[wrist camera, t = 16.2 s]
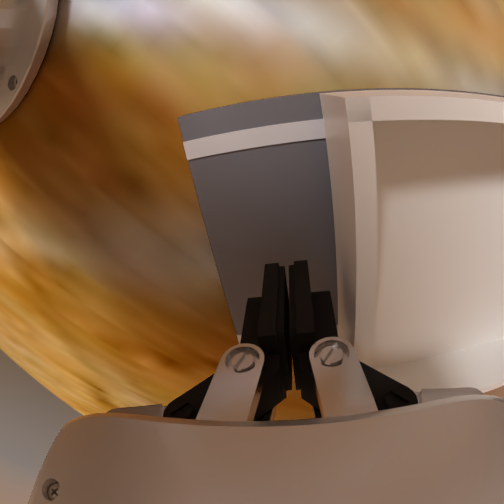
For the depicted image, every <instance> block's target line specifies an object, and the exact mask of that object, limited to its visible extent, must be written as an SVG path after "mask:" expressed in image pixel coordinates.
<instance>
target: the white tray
mask: <svg viewBox="0 0 504 504" xmlns="http://www.w3.org/2000/svg"><path fill="white" fill-rule="evenodd" d="M319 95H320V101H321V107H322V114H323V121H324V129H325V136H326V144H327V152H328V161H329V170H330V180H331V191H332V202H333V214H334V228H335V244H336V263H337V290H338V337H340V338H343V339H345V340H347V341H348V342H350V343H351V345H352V346H353V348H354V350H355V352H356V355H357V357H358V360H359V361H361V362H362V363H364V364H366V365H368V366H370V367H372V368H373V369H375V370H377V371H379V372H381V373H383V374H385V375H386V376H388V377H390V378H392V379H394V380H396V381H398V382H399V383H401V384H403V385H405V386H407V387H409V388H410V389H411V390H413V392H420V391H421V389H439V388H465V387H471V388H476V389H478V390H480V391H481V392H482V393H485V392H487V391H490V390H493V389H495V388H498V387H501V386H503V385H504V97H498V96H490V95H482V94H473V93H463V92H450V91H433V90H363V91H344V92H331V93H319Z"/></svg>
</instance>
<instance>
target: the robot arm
mask: <svg viewBox="0 0 504 504" xmlns="http://www.w3.org/2000/svg"><path fill="white" fill-rule="evenodd" d="M57 7H58V0H0V123H1V122H2V121H3V120H5V119H6V118H7V117H8V116H9V115H10V114H11V113H12V112H13V111H14V110H15V109H16V108H17V106H18V105H19V103H20V102H21V100H22V99H23V98H24V96H25V95H26V93H27V92H28V90H29V88H30V86H31V84H32V82H33V80H34V79H35V77H36V75H37V73H38V70H39V68H40V65H41V63H42V61H43V59H44V56H45V54H46V50H47V47H48V44H49V41H50V38H51V36H52V32H53V27H54V23H55V19H56V15H57ZM292 359H293V367H294V375H295V383H296V390H299V389H301V395H302V399H304V400H305V401H307V402H308V403H309V404H311V405H312V411H313V416H314V419H301V420H281V421H274V417H275V412H276V405H277V404H278V403H280V402H281V401H282V400H283V399H285V398H286V390H292ZM28 504H504V398H502V397H497V396H491V395H484V394H483V393H482V392H481V391H480V390H478V389H476V388H471V387H465V388H439V389H421V391H420V392H413V390H411V389H410V388H409V387H407V386H405V385H403V384H401V383H399V382H398V381H396V380H394V379H392V378H390V377H388V376H386V375H385V374H383V373H381V372H379V371H377V370H375V369H373V368H372V367H370V366H368V365H366V364H364V363H362V362H361V361H359V360H358V357H357V355H356V352H355V350H354V348H353V346H352V345H351V343H350V342H348V341H347V340H345V339H343V338H340V337H338V333H337V327H336V321H335V315H334V310H333V304H332V299H331V293H330V290H328V291H319V292H311V288H310V279H309V270H308V262H307V260H300V261H294V265H289V296H288V288H287V280H286V273H285V266H279V263H270V264H265V267H264V277H263V287H262V297H252V298H248V299H247V304H246V310H245V316H244V322H243V328H242V335H241V341H240V344H238V345H234V346H232V347H231V348H229V349H228V350H226V351H225V352H224V354H223V355H222V357H221V359H220V362H219V364H218V366H217V369H216V371H215V374H213V375H212V376H210V377H209V378H207V379H206V380H204V381H203V382H201V383H200V384H198V385H196V386H195V387H193V388H192V389H190V390H189V391H187V392H186V393H184V394H183V395H181V396H179V397H178V398H176V399H175V400H173V401H172V402H171V403H169V404H168V405H167V406H164V407H163V406H162V404H157V405H148V406H138V407H126V408H116V409H112V410H110V411H108V412H107V413H96V414H90V415H85V416H81V417H78V418H76V419H73V420H71V421H70V422H68V423H67V424H66V425H65V426H64V427H63V428H62V429H61V430H60V432H59V433H58V435H57V436H56V438H55V440H54V442H53V443H52V445H51V447H50V449H49V451H48V453H47V455H46V458H45V460H44V462H43V465H42V467H41V469H40V471H39V474H38V477H37V479H36V482H35V485H34V488H33V490H32V493H31V496H30V499H29V502H28Z"/></svg>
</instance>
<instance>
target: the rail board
mask: <svg viewBox="0 0 504 504" xmlns="http://www.w3.org/2000/svg"><path fill="white" fill-rule="evenodd" d="M363 90H433V91H450V92H463V93H473V94H482V95H490V96H498V97H504V96H499V95H492V94H484V93H476V92H466V91H454V90H439V89H413V88H381V89H354V90H338V91H325V92H315V93H305V94H297V95H289V96H281V97H274V98H267V99H261V100H255V101H249V102H244V103H238V104H233V105H228V106H223V107H218V108H213V109H209V110H204V111H200V112H196V113H192V114H187V115H184V116H181V117H178V121H179V125H180V130H181V134H182V138H183V145H184V149H185V153H186V157H187V160H188V162H189V166H190V170H191V174H192V178H193V182H194V186H195V189H196V193H197V197H198V201H199V205H200V208H201V212H202V216H203V220H204V223H205V227H206V231H207V234H208V238H209V241H210V245H211V249H212V252H213V256H214V259H215V263H216V266H217V270H218V273H219V277H220V280H221V284H222V287H223V290H224V294H225V297H226V301H227V304H228V307H229V311H230V314H231V317H232V321H233V324H234V327H235V330H236V334H237V339H238V342H239V344H240V341H241V335H242V328H243V322H244V316H245V310H246V304H247V299H248V298H252V297H262V287H263V277H264V267H265V264H270V263H279V266H285V273H286V280H287V288H288V296H289V265H294V261H300V260H307V262H308V270H309V279H310V288H311V292H319V291H328V290H330V293H331V299H332V304H333V310H334V315H335V321H336V327H337V333H338V290H337V263H336V244H335V228H334V214H333V202H332V191H331V180H330V170H329V161H328V152H327V144H326V136H325V129H324V121H323V114H322V107H321V101H320V95H319V93H331V92H344V91H363Z"/></svg>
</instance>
